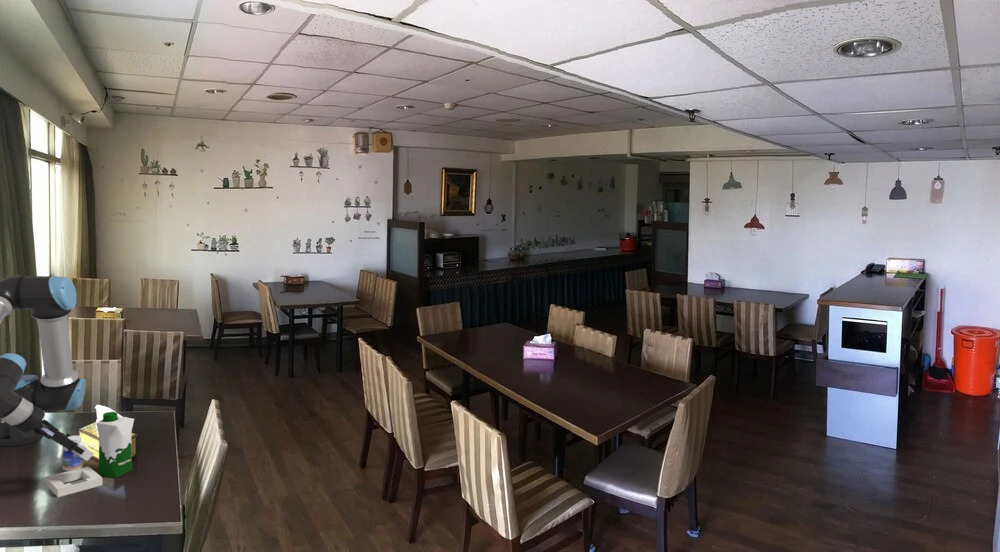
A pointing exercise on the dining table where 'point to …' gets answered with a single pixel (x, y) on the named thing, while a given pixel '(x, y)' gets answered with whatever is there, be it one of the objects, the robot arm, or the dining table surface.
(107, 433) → the milk carton
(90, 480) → the plate
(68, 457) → the pill bottle
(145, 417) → the dining table surface
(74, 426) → the dining table surface
